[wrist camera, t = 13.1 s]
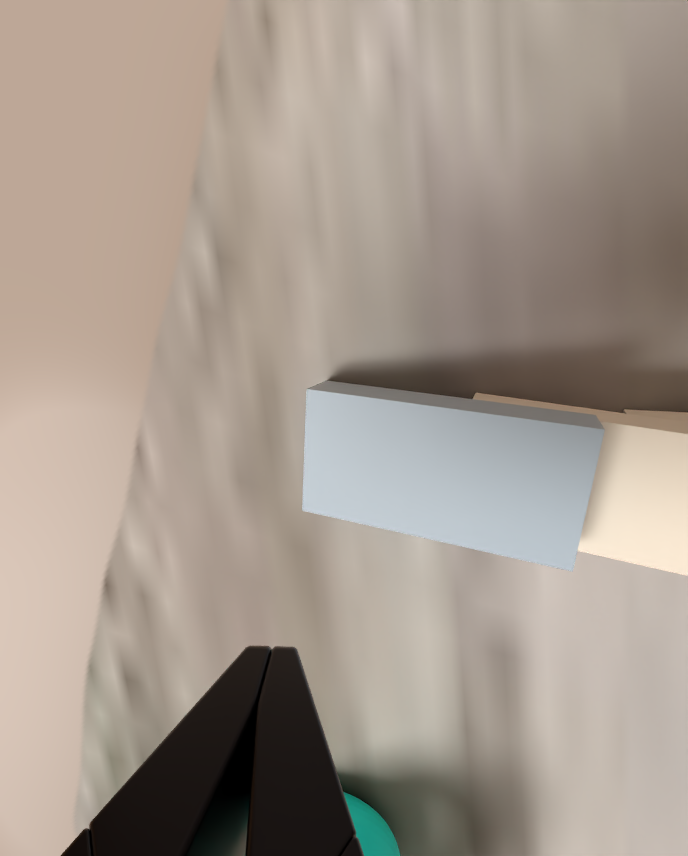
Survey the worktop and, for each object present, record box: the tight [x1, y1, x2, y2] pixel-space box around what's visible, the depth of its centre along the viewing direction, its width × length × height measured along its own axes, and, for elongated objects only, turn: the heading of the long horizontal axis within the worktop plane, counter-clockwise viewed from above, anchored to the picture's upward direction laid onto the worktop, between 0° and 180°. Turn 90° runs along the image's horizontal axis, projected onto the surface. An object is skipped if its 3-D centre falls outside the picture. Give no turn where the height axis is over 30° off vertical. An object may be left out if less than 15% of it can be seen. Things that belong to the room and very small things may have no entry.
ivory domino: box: [473, 393, 688, 576], centre depth 18 cm, size 2×5×10 cm
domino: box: [302, 381, 605, 572], centre depth 18 cm, size 2×5×10 cm
